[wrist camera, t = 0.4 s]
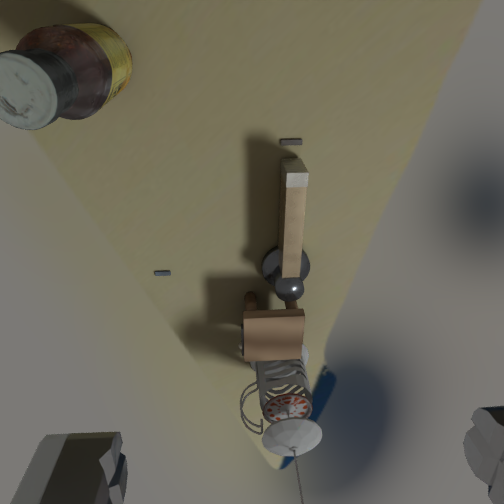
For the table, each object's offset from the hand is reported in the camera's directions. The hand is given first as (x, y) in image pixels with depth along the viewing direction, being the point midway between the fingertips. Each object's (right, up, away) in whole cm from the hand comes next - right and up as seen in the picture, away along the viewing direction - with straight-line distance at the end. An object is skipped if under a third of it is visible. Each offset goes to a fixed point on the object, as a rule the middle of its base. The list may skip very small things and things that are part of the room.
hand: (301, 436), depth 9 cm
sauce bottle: (-16, +23, +29) cm, 40 cm away
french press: (+2, -13, +53) cm, 55 cm away
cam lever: (+3, +7, +40) cm, 41 cm away
